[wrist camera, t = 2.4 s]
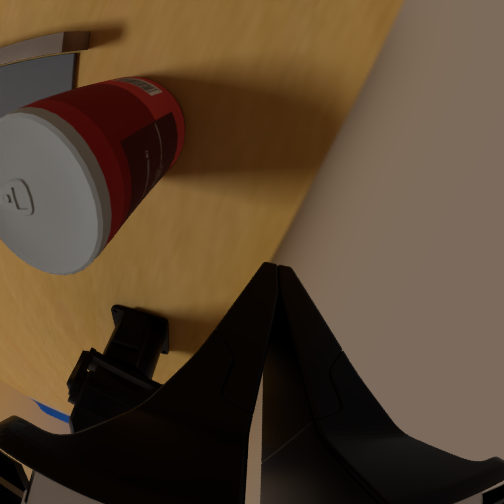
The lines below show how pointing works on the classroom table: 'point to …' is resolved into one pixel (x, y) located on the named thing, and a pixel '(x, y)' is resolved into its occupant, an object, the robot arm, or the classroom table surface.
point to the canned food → (82, 168)
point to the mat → (35, 80)
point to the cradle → (45, 46)
